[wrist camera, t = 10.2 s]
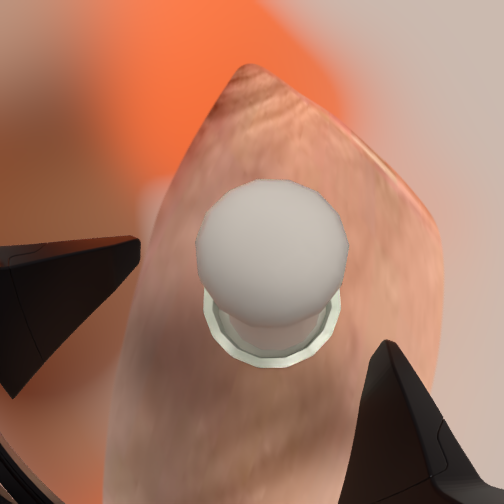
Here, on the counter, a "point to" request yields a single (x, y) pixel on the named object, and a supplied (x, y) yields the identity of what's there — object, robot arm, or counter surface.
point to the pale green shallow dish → (270, 358)
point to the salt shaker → (272, 260)
